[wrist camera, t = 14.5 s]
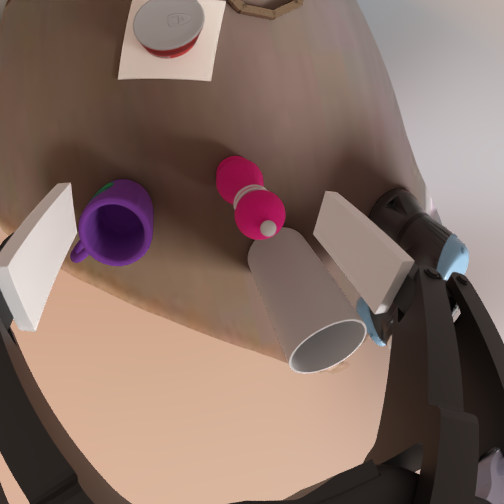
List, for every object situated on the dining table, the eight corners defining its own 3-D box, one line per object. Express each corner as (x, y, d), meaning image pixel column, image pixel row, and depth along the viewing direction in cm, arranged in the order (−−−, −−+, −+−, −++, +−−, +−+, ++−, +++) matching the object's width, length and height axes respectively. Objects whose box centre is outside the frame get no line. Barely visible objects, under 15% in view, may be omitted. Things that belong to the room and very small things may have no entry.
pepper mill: (210, 155, 42) (234, 207, 27) (254, 150, 44) (303, 196, 28) (215, 195, 47) (240, 266, 31) (256, 189, 48) (300, 253, 32)
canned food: (205, 46, 31) (215, 33, 22) (154, 68, 31) (146, 61, 22) (187, 7, 26) (191, -18, 18) (136, 28, 27) (122, 10, 18)
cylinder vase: (310, 225, 55) (379, 312, 35) (297, 274, 62) (348, 363, 42) (250, 225, 52) (301, 327, 32) (243, 277, 59) (280, 379, 39)
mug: (130, 160, 39) (119, 180, 31) (168, 211, 46) (168, 242, 38) (60, 218, 40) (41, 248, 33) (98, 260, 47) (88, 295, 39)
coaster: (224, 3, 28) (226, 1, 27) (210, 81, 35) (210, 81, 35) (133, -1, 24) (132, -3, 23) (119, 79, 31) (117, 79, 30)
